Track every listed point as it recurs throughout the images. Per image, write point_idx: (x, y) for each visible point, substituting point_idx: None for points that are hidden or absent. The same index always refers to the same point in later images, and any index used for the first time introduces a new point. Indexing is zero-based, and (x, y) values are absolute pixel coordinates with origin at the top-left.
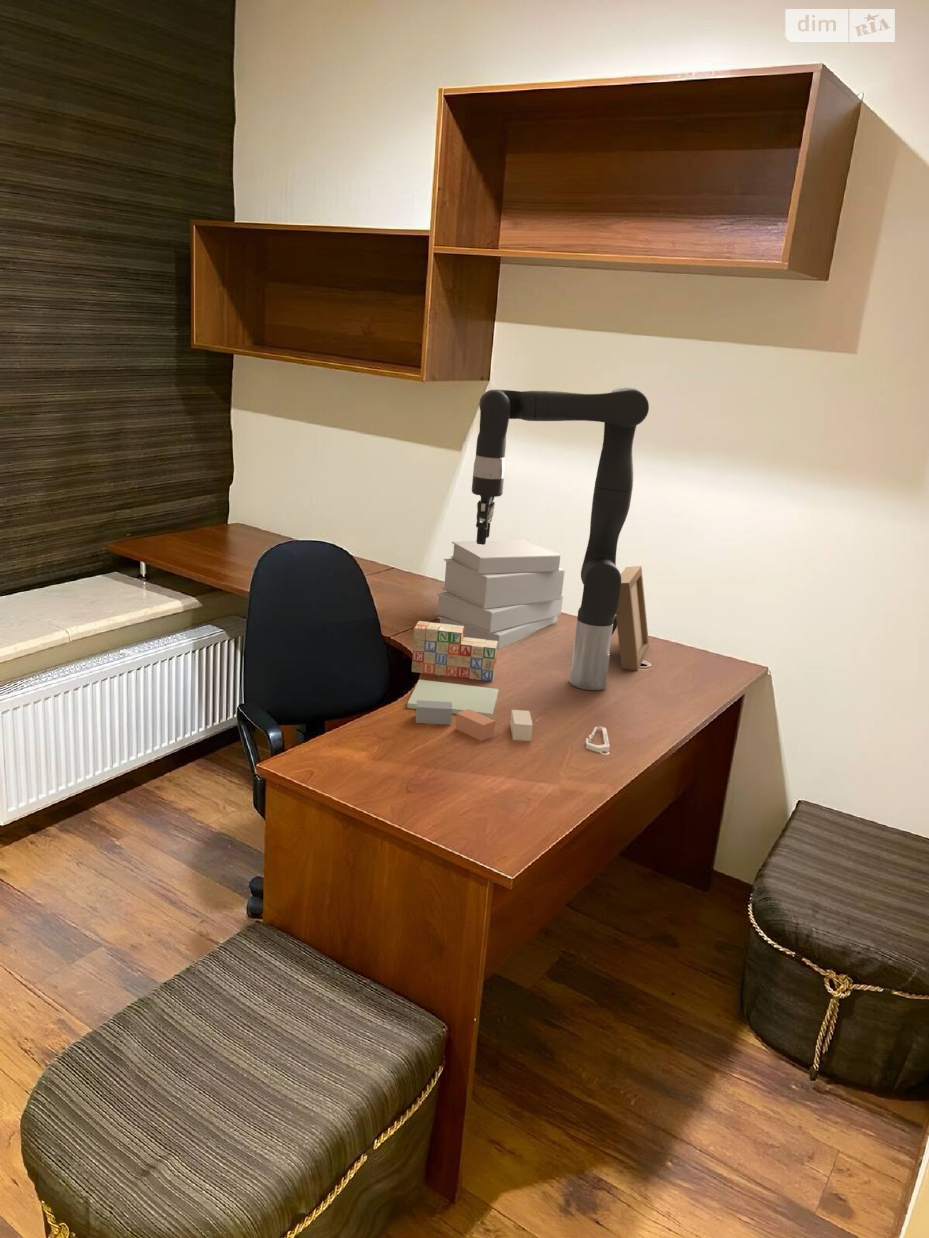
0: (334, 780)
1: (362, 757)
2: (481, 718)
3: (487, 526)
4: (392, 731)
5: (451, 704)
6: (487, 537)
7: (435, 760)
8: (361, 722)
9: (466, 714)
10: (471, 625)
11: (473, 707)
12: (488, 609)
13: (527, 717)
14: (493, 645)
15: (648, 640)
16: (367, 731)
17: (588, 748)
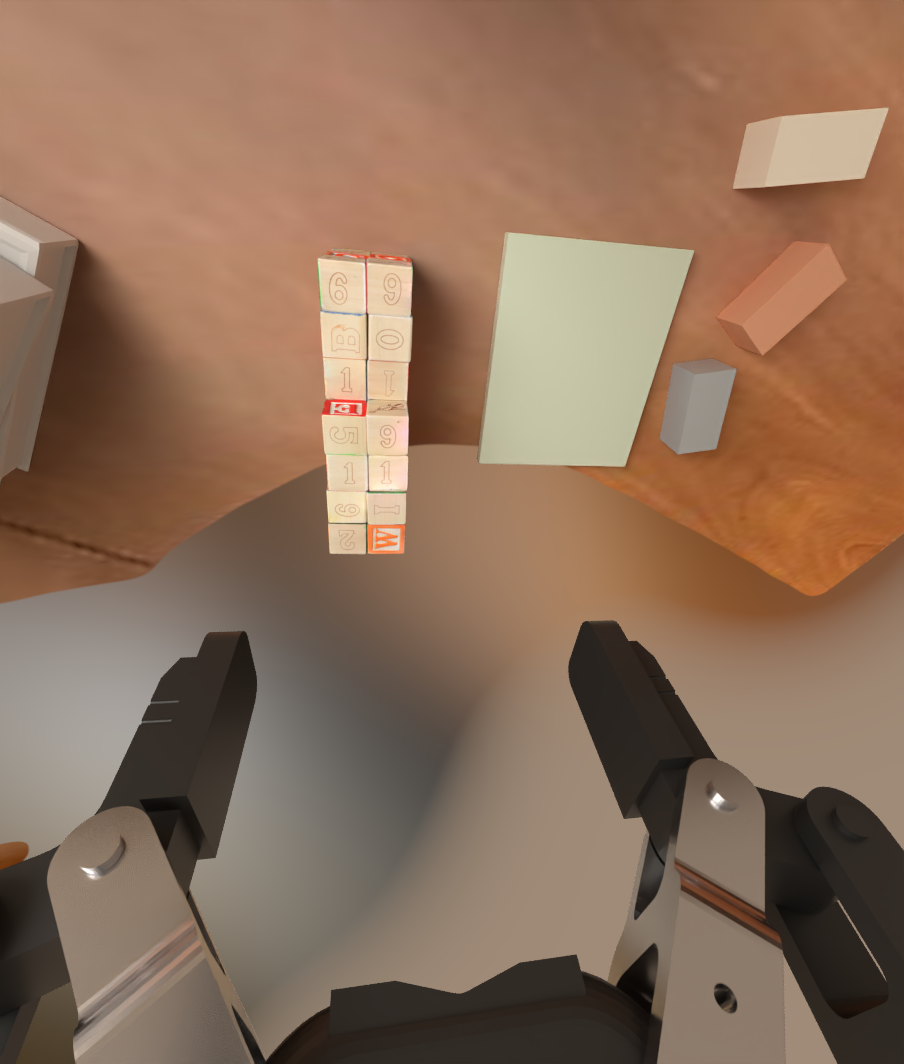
0: (889, 515)
1: (825, 495)
2: (806, 286)
3: (743, 802)
4: (732, 469)
5: (708, 374)
6: (243, 635)
7: (875, 373)
8: (686, 524)
9: (775, 330)
10: (17, 373)
11: (650, 309)
12: None
13: (831, 126)
14: (382, 277)
15: None
16: (726, 507)
17: None
